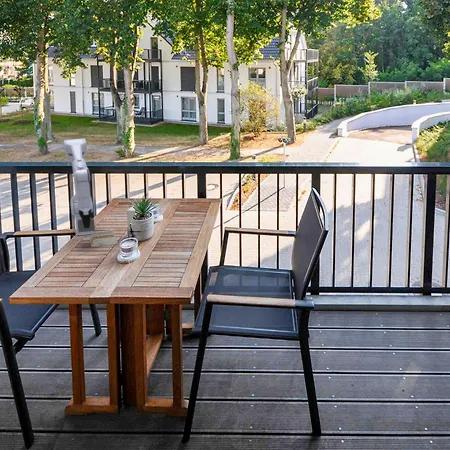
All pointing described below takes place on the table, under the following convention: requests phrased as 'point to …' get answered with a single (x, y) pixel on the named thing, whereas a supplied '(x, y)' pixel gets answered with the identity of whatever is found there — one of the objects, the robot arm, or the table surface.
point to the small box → (130, 214)
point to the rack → (103, 238)
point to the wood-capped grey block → (81, 226)
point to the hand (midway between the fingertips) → (86, 226)
